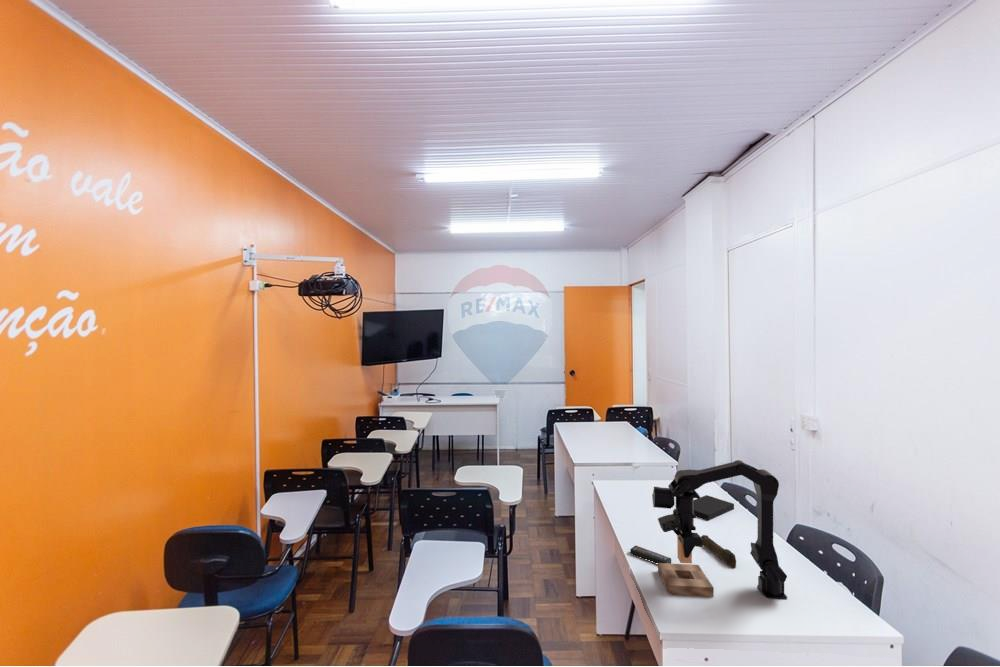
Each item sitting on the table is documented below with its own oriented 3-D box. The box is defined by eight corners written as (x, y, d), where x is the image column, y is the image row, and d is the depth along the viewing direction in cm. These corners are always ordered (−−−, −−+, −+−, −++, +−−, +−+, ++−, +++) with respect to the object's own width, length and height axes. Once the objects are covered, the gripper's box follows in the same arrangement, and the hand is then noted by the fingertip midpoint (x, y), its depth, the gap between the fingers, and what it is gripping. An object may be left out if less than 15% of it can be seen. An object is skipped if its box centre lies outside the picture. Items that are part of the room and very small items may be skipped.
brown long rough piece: (699, 544, 180) (699, 533, 180) (708, 543, 180) (708, 532, 180) (728, 569, 161) (728, 557, 161) (738, 568, 161) (738, 556, 161)
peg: (688, 558, 153) (688, 534, 153) (691, 563, 149) (691, 539, 149) (677, 557, 153) (677, 534, 153) (680, 562, 150) (680, 539, 150)
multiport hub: (666, 569, 161) (666, 562, 161) (630, 555, 171) (630, 549, 171) (671, 564, 164) (671, 558, 164) (635, 550, 175) (635, 545, 175)
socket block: (698, 573, 158) (698, 564, 158) (713, 596, 144) (713, 587, 144) (658, 571, 159) (658, 562, 159) (669, 594, 145) (669, 585, 145)
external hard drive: (679, 511, 213) (679, 505, 213) (706, 500, 226) (706, 494, 226) (707, 521, 201) (707, 515, 201) (734, 509, 215) (734, 503, 215)
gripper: (653, 498, 161) (653, 540, 161) (668, 519, 143) (668, 568, 143) (685, 499, 160) (685, 542, 160) (703, 521, 142) (703, 569, 142)
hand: (684, 554), depth 151 cm, fingers closed on peg, 4 cm apart
